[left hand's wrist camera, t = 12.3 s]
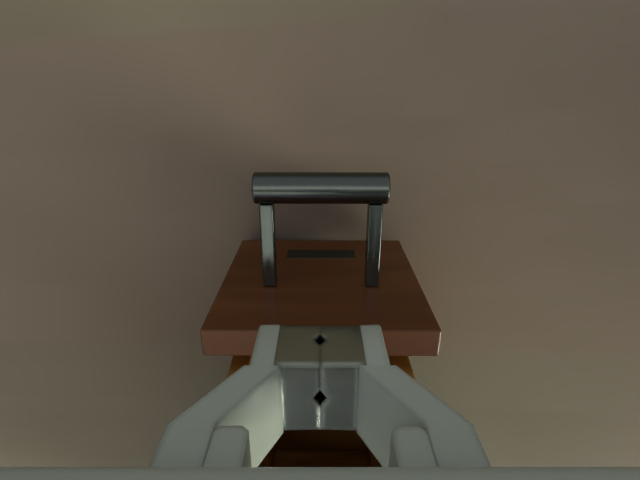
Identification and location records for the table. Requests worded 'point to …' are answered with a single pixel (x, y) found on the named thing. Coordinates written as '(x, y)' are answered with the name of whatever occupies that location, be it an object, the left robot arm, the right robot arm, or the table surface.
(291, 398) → the left robot arm
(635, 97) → the table surface
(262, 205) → the drawer
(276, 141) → the table surface
